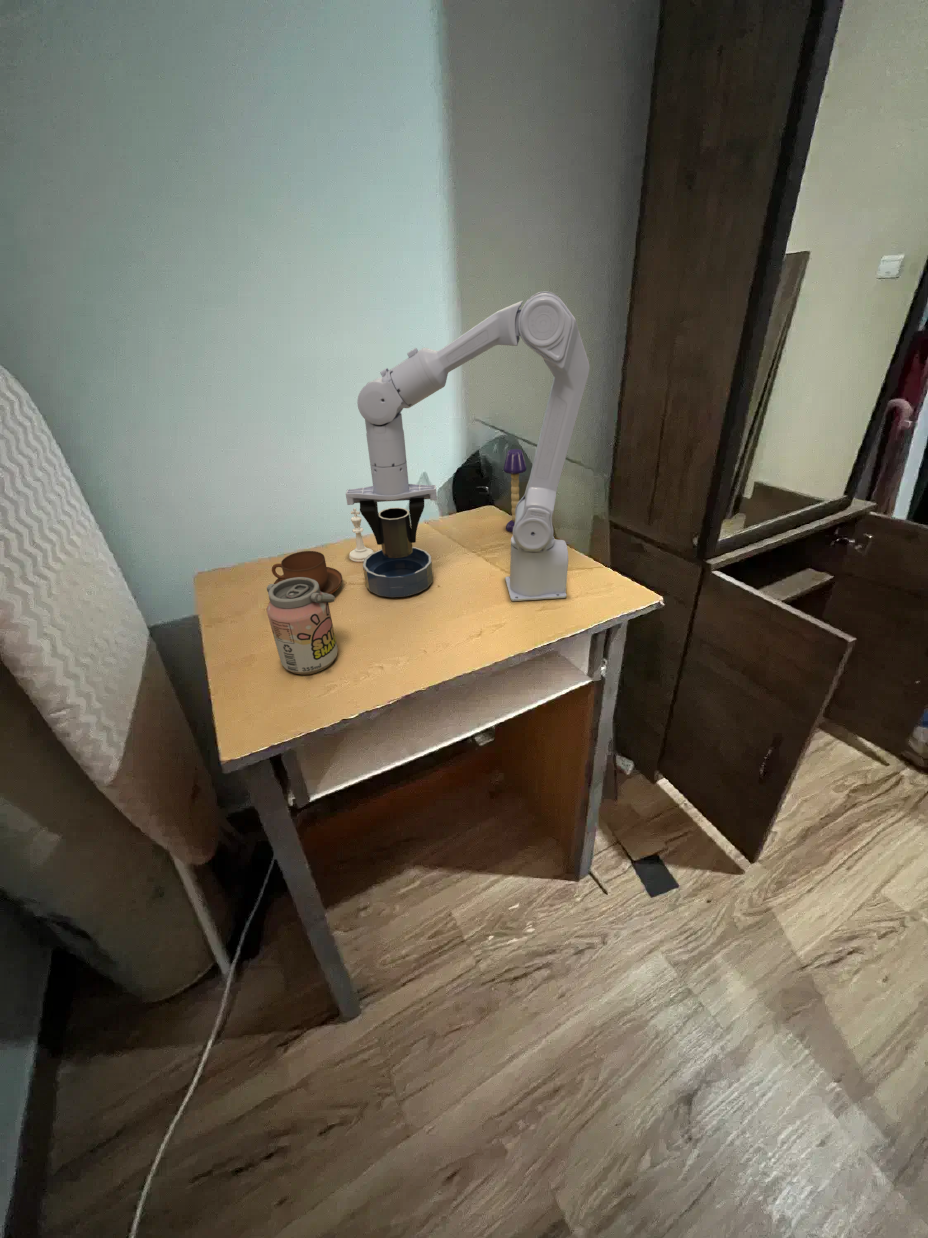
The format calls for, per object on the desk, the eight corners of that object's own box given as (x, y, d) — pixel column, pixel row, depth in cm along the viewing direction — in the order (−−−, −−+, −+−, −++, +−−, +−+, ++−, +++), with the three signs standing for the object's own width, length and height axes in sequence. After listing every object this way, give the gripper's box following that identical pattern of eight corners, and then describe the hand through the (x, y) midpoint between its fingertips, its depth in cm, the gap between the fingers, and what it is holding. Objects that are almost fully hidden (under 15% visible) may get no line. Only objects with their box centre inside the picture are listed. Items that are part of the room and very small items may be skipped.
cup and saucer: (271, 613, 88) (263, 581, 85) (277, 579, 98) (270, 549, 95) (344, 603, 90) (338, 571, 87) (343, 571, 100) (338, 541, 96)
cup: (413, 544, 94) (409, 506, 90) (412, 557, 89) (409, 518, 85) (383, 546, 93) (379, 508, 89) (381, 559, 89) (376, 520, 85)
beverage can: (308, 634, 82) (292, 566, 76) (354, 645, 80) (341, 575, 73) (269, 669, 75) (247, 597, 69) (318, 683, 72) (300, 609, 66)
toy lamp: (502, 532, 113) (502, 453, 104) (504, 523, 117) (505, 447, 107) (524, 533, 112) (527, 454, 103) (526, 524, 116) (528, 447, 107)
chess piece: (369, 562, 103) (362, 514, 97) (345, 560, 104) (337, 512, 98) (377, 551, 107) (371, 504, 101) (354, 550, 108) (347, 503, 102)
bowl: (432, 565, 101) (430, 544, 98) (433, 597, 91) (431, 574, 88) (369, 569, 100) (366, 548, 98) (363, 602, 90) (359, 579, 88)
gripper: (433, 452, 86) (438, 529, 94) (345, 456, 86) (356, 534, 93) (434, 465, 81) (439, 546, 88) (339, 470, 80) (352, 551, 87)
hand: (397, 541), depth 90 cm, fingers closed on cup, 5 cm apart
